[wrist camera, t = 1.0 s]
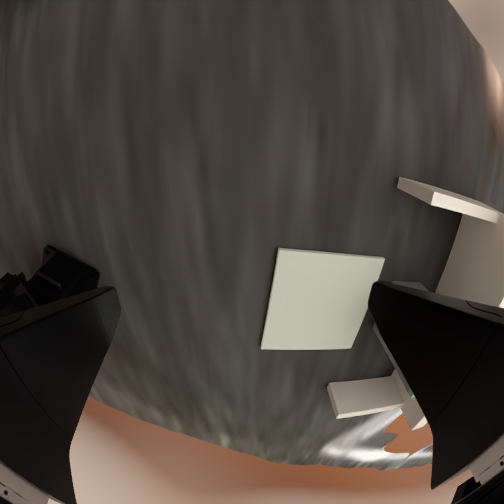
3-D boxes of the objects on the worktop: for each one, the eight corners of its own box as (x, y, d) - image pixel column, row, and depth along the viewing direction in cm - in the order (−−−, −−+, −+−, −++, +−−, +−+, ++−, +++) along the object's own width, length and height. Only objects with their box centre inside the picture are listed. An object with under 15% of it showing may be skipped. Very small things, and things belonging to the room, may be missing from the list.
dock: (326, 387, 32) (344, 446, 23) (399, 176, 21) (470, 209, 13) (398, 378, 33) (422, 426, 25) (477, 200, 22) (537, 233, 14)
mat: (260, 346, 27) (260, 349, 27) (278, 247, 23) (279, 249, 22) (349, 345, 28) (350, 348, 28) (383, 257, 24) (385, 258, 23)
